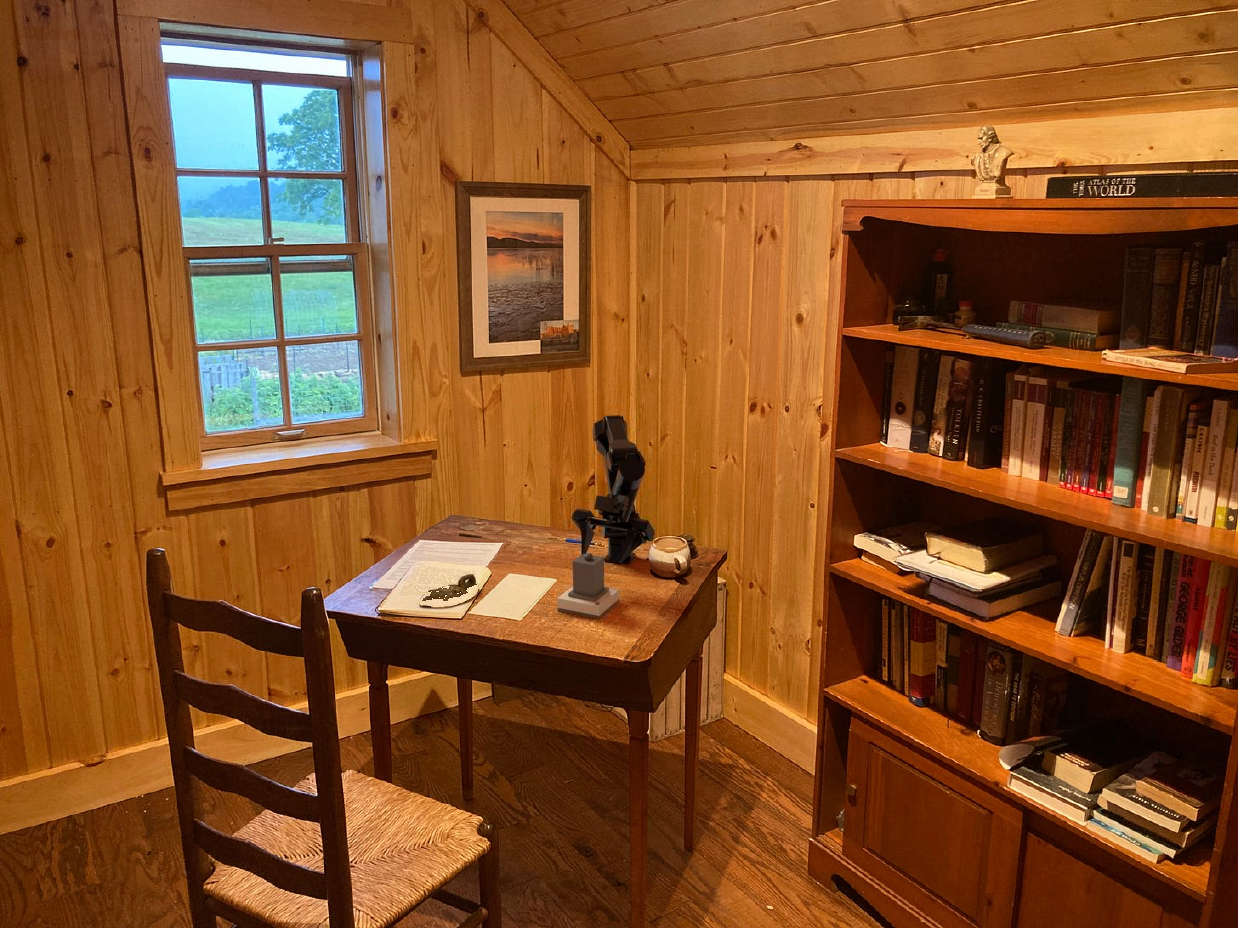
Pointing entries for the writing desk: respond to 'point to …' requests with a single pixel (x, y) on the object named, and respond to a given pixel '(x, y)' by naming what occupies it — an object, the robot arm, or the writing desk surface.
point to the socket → (588, 604)
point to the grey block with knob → (588, 578)
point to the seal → (453, 589)
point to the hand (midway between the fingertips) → (601, 558)
